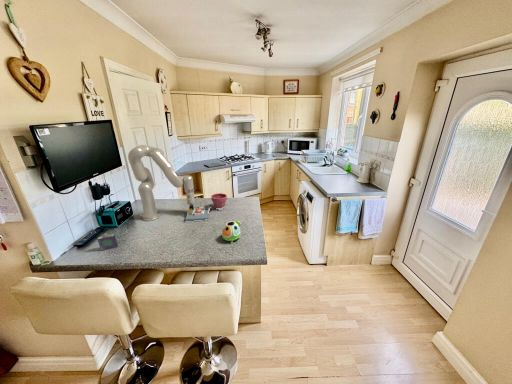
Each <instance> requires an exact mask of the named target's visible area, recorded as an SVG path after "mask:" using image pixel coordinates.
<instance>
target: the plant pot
mask: <svg viewBox="0 0 512 384" xmlns="http://www.w3.org/2000/svg"><path fill="white" fill-rule="evenodd" d="M210 197H211V199H210V200H211V201H212V204H213V206H214V209H215V208H222V207H224V206H225V207H226V202H227V200H228V195H227V194H225V193H221V192H220V193H218V192H217V193H214V194H212V195H210Z"/></svg>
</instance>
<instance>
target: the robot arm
mask: <svg viewBox="0 0 512 384" xmlns="http://www.w3.org/2000/svg"><path fill="white" fill-rule="evenodd" d="M143 157H149V158H151V160H152V161H153V162H154V163H155V164H156V165H157V166H158V168H160V169H161V171H162V173H163V174H164V176H165V178H166V179H167V180H168V181H169V183H170V184H171V185H172V186H173V187H174V188H179V189H180V188H181V187H182V186H183V189H184V193H185V195H186V198H185V199H186V203H187V205H188V207H189V208H188V209H192V210H193V209H194V207H195V206H194V203H195V201H196V199H195V198H196V197H195V187H194V180H193V176H192V175H177V174H176V172H175V170H174V168H173V164H172V163H171V162H170V161H169V159H167V157H166V156H165V152H164V151H163V150H162V149H161V148H158V147H154V146H149V145H144V144H139V145H137V146H135V147H133V148H132V149H130V151H129V152H128V154H127V159H128V162H129V165H130V168H131V170H132V172H133V176H134V178H135V180H136V181H138V182H141V183H140V184H139V185H138V189H137V192H138V194H139V197H140V201H141V205H142V209H143V213H142V212H141V213H139V217H142V220H143V221H145V222H152V221H155V220H158V218H160V214H159V213H158V212H157V206H156V201H155V200H156V199H155V196H154V193H153V189H154V188H155V181H154V177H153V175H152V172H151V170H150V169H149V168H148V167H146V166H145V165H144V162H143V161H142V158H143Z"/></svg>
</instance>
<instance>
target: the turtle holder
mask: <svg viewBox="0 0 512 384" xmlns="http://www.w3.org/2000/svg"><path fill="white" fill-rule="evenodd" d="M241 225H242V223H241V221H240V220H237V221H233V220H230V221H228V222H226V223H225V225H224V226H223V227H222V228H221V236H222V238H223V239H222V240H225V241H228V242H230V243H231V242H233V241H236V240H239V237H241V234H242V233H241ZM233 243H234V242H233Z"/></svg>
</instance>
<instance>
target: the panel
mask: <svg viewBox="0 0 512 384" xmlns="http://www.w3.org/2000/svg"><path fill="white" fill-rule="evenodd" d="M193 207H194V209H193V210H192V211H193V213H192V214H188V212H187V214H186V217H185V221H194V220H205V219H208V220H209V218H208V216H209V217H210V214H209V211H210V212H211V210H210V207H211V206H209V210H205V206H202V207H200V206H193ZM211 208H212V207H211ZM196 209H201V212H200V213H196ZM194 222H195V221H194Z"/></svg>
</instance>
